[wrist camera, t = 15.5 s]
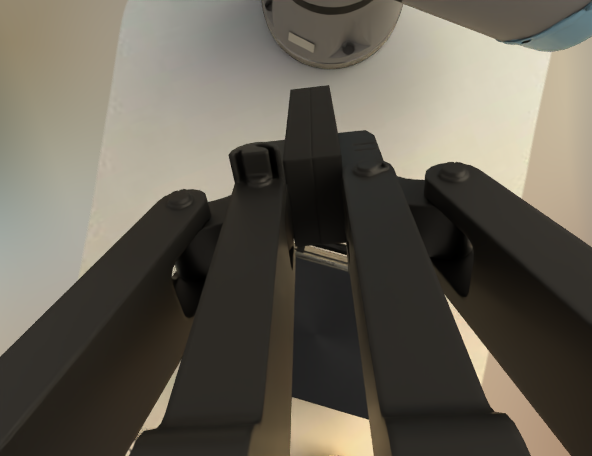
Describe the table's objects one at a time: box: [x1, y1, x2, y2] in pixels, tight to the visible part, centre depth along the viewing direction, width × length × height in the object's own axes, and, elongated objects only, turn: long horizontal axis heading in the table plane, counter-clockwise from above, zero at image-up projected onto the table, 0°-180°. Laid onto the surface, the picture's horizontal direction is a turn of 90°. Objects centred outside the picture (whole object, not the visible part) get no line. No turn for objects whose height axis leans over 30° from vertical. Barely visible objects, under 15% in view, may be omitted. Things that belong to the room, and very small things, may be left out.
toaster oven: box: [292, 243, 369, 420], centre depth 41 cm, size 17×14×11 cm
